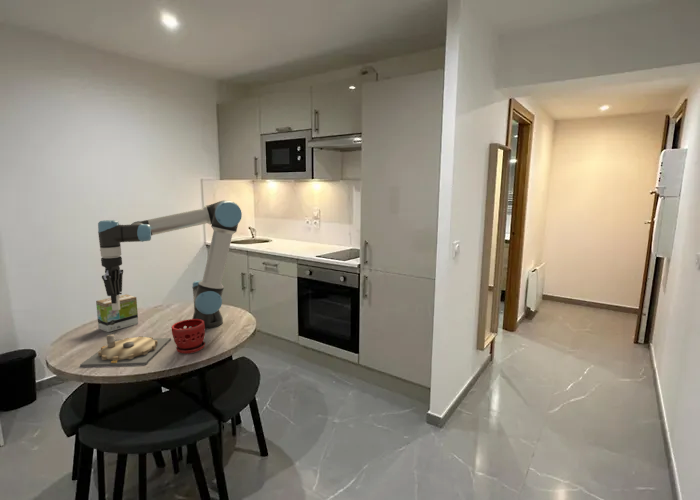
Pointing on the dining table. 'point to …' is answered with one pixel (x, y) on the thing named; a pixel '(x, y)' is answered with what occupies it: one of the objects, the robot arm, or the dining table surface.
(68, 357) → the dining table surface
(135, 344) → the sprocket
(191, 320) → the plant pot
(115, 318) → the tea box
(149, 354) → the sprocket base
